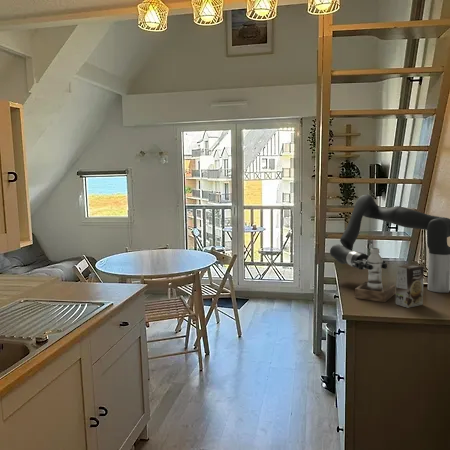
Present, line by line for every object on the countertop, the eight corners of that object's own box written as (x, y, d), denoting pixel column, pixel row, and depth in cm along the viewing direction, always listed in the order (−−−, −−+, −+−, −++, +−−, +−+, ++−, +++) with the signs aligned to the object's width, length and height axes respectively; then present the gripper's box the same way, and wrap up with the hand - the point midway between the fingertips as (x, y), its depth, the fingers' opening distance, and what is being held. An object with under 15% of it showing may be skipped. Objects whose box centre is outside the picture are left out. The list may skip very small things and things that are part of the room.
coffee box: (408, 308, 173) (409, 268, 171) (395, 304, 179) (396, 265, 177) (423, 304, 177) (424, 266, 176) (410, 301, 183) (411, 263, 181)
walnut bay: (394, 294, 194) (395, 285, 193) (385, 302, 182) (385, 293, 181) (365, 290, 201) (365, 281, 201) (354, 297, 189) (354, 288, 189)
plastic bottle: (374, 295, 187) (374, 249, 186) (363, 292, 193) (363, 248, 192) (386, 294, 190) (386, 248, 188) (375, 290, 196) (375, 247, 194)
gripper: (344, 253, 202) (364, 259, 186) (371, 251, 205) (393, 257, 189) (343, 268, 203) (363, 276, 187) (371, 266, 206) (393, 274, 190)
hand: (378, 267), depth 188 cm, fingers open, 6 cm apart
